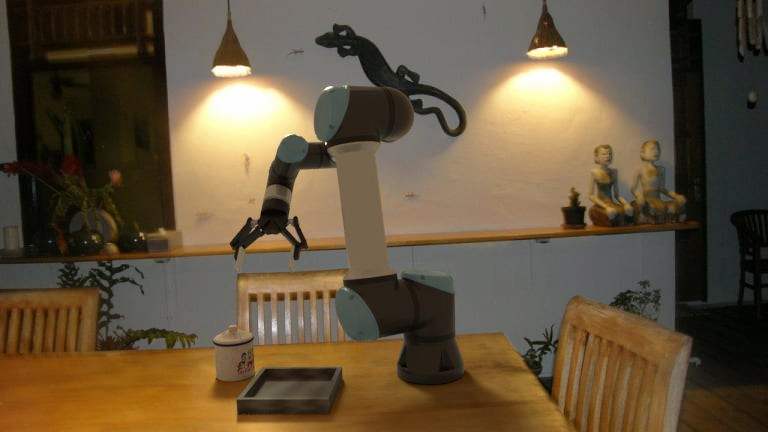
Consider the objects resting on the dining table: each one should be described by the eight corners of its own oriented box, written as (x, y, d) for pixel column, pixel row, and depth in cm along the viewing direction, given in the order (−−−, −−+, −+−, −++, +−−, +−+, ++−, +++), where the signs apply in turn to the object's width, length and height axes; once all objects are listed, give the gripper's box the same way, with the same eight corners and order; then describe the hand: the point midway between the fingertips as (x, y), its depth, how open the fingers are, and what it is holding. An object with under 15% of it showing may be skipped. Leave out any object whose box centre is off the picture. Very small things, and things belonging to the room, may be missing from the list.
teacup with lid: (244, 384, 135) (241, 332, 134) (207, 381, 137) (204, 330, 136) (268, 365, 146) (265, 317, 145) (234, 363, 149) (231, 316, 148)
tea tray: (342, 379, 135) (342, 366, 135) (328, 414, 117) (328, 399, 117) (263, 380, 137) (262, 367, 136) (237, 414, 119) (236, 399, 118)
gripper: (323, 213, 169) (315, 277, 155) (235, 215, 171) (220, 279, 158) (319, 195, 163) (310, 260, 150) (228, 197, 165) (211, 262, 152)
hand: (264, 270), depth 154 cm, fingers open, 13 cm apart
